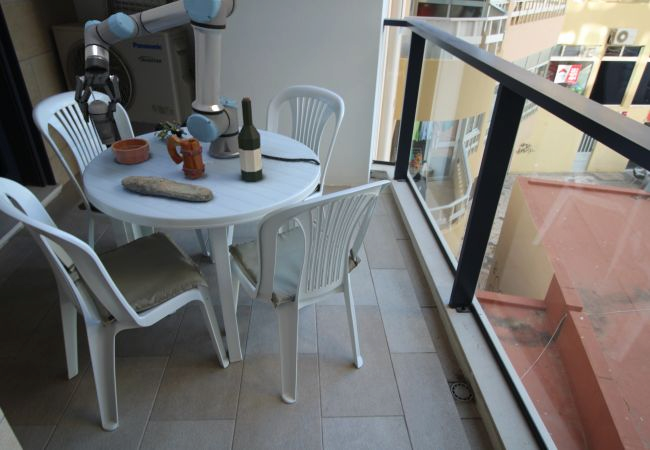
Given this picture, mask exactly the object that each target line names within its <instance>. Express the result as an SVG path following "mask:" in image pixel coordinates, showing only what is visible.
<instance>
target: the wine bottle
mask: <svg viewBox="0 0 650 450" xmlns="http://www.w3.org/2000/svg"><path fill="white" fill-rule="evenodd" d="M252 108H253V107H252V100H251V99H250V97H242V99H241V113H242V114H241V115H242V127H241V128H240V129H239V135H238V145H239V156H238V157H239V164H240V165H239V166H240V167H239V168H240V176H241V180H242V181H244V182H246V183H257V182H259V181H261V180H263V163H262V162H263V161H262V156H261V154H262V146H261V145H262V144H261V134H260V132H259V131H258V129H257V127H256V126H255V125H254V124H253V123H254V122H253V110H252Z"/></svg>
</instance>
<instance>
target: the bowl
mask: <svg viewBox="0 0 650 450" xmlns="http://www.w3.org/2000/svg"><path fill="white" fill-rule="evenodd" d="M110 145H111V146H110V150H111V153H112V156H114V157H115V159H116V162H118V163H119V164H121V165H122V164H124V165H135V164H140V163H142V162H145V161H147V160H148V159H150V151H151V147H150V142H149V140H147V139H144V138H136V137H135V138H124V139H120V140H117V141H115V143H113V144H110Z"/></svg>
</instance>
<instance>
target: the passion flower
mask: <svg viewBox="0 0 650 450" xmlns="http://www.w3.org/2000/svg"><path fill="white" fill-rule="evenodd" d="M181 125H182V124H181V122H179V121H176V120H171V122H170V121H165V123H162V122H160V126H162V131H161V130H160V132H159V133H158V132H157V131H155V132H154V133H153V136H154V137H156V136H157V138H158V139H160V138H161V140H162V142H164V139H165V137H166V140H167V141H168V139H169V137H171V136H173V135H176V136H177V137H178V138H179V139H181V140H182V139H184V137H183V135H184V136H187V135H188V133H187V132H185V130H184V129H183V128H181ZM169 132H170V134H169Z"/></svg>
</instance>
